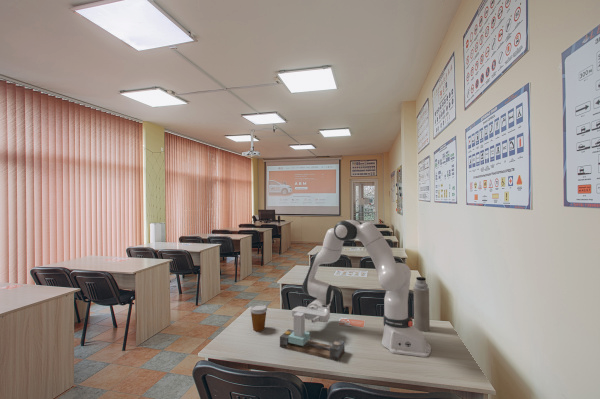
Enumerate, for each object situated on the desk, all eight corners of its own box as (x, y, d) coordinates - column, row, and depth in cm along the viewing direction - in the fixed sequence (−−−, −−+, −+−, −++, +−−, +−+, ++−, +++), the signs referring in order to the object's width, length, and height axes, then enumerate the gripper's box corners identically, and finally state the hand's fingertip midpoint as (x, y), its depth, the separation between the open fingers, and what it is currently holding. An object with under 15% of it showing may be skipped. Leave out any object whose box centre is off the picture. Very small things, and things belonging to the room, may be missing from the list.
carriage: (310, 338, 143) (309, 312, 143) (303, 345, 136) (302, 318, 136) (295, 335, 147) (295, 309, 147) (288, 342, 139) (288, 315, 140)
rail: (344, 351, 136) (344, 339, 136) (338, 361, 128) (338, 348, 128) (288, 338, 149) (288, 328, 149) (279, 346, 141) (279, 335, 141)
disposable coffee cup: (262, 333, 155) (262, 311, 156) (247, 331, 158) (246, 309, 159) (270, 326, 164) (269, 305, 165) (255, 324, 167) (255, 303, 168)
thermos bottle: (415, 324, 165) (414, 275, 166) (430, 327, 161) (429, 276, 162) (412, 329, 158) (412, 278, 159) (428, 332, 154) (427, 280, 155)
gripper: (298, 301, 163) (286, 310, 151) (332, 307, 154) (322, 316, 142) (298, 313, 163) (286, 322, 151) (332, 319, 154) (322, 329, 142)
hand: (304, 319), depth 146 cm, fingers open, 8 cm apart
